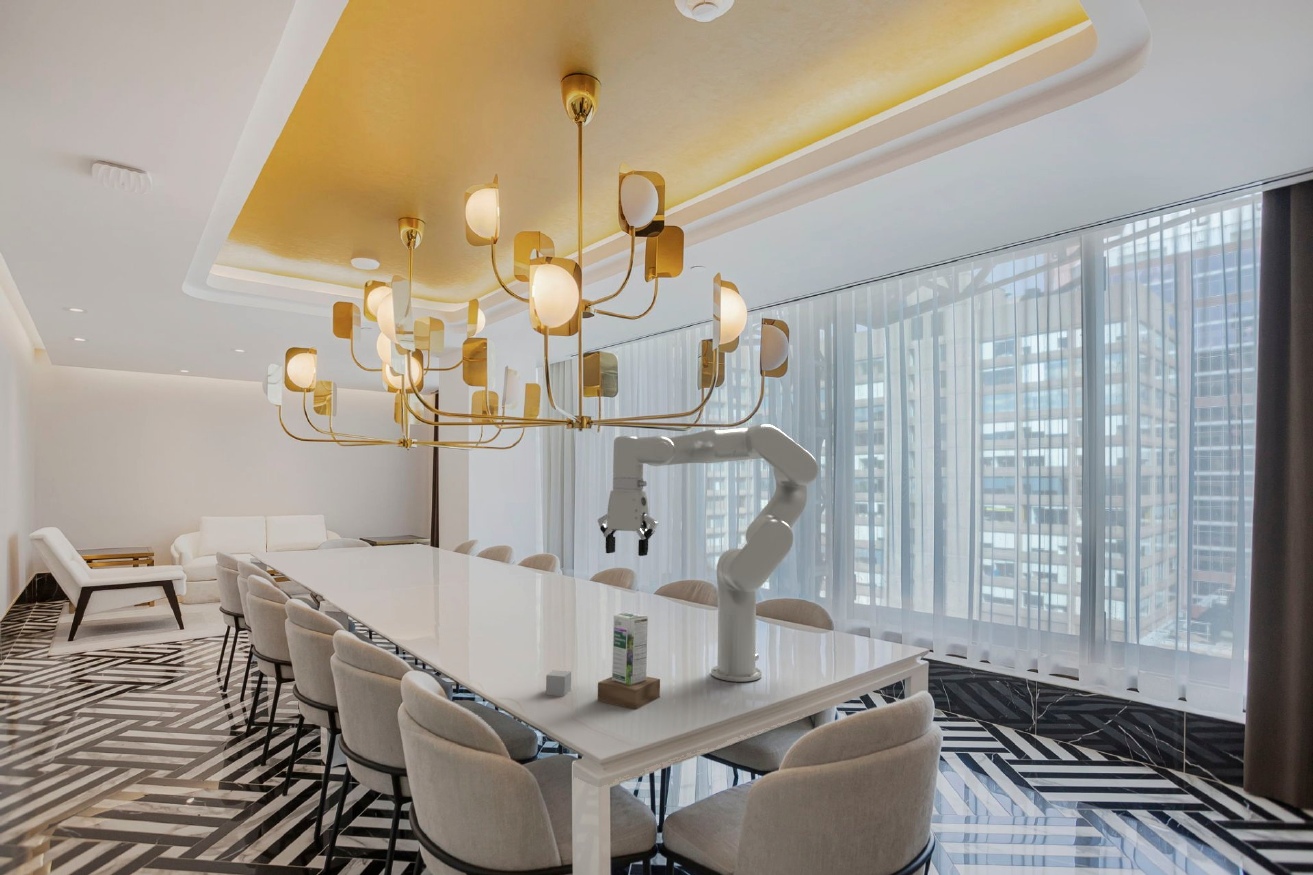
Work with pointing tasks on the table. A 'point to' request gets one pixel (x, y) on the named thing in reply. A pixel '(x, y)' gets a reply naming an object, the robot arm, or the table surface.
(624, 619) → the syrup box
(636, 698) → the walnut base
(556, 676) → the grey stone cube
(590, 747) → the table surface
